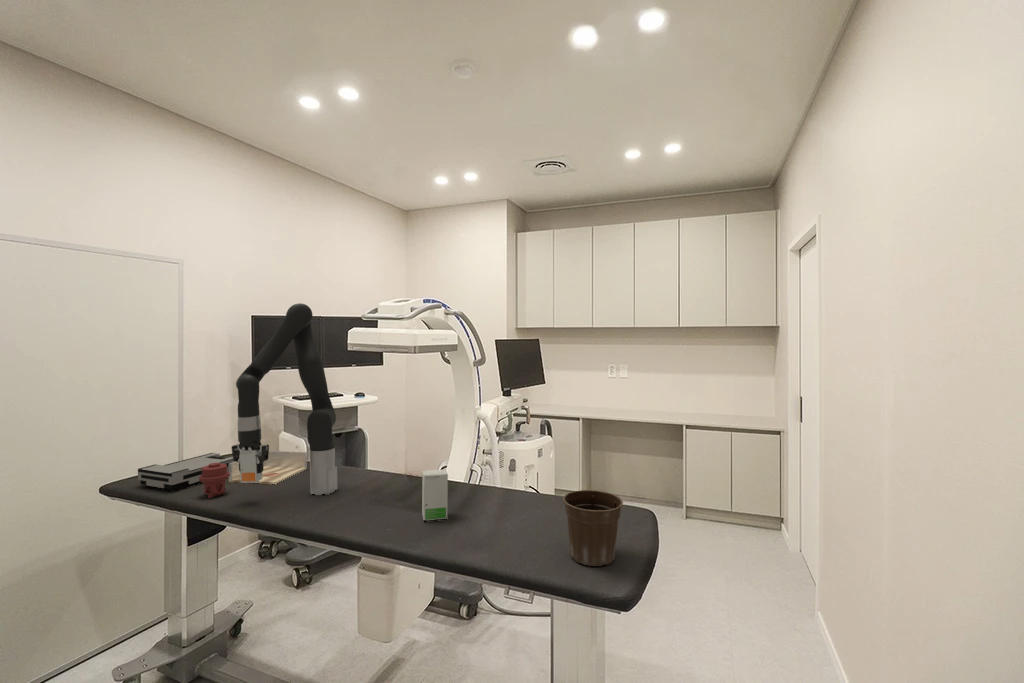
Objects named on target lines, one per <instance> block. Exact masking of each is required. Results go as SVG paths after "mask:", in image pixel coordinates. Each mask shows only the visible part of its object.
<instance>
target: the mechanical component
mask: <svg viewBox="0 0 1024 683" xmlns="http://www.w3.org/2000/svg"><path fill="white" fill-rule="evenodd" d="M229 476H230V473H229V472H228V471H227V465H226V464H220V463H211V464H209V465H208V466H205V467H203V468H202V475H201V476H200V477H199V481H201V482H204V483H203V486H204V487H203V488H204V489H203V494H205V495H207V498H208V499H211V497H212V498H215V497H218V496H222V495H221V494H223V495H225V494H226V480H227V479H229ZM217 495H218V496H217ZM214 496H215V497H214Z"/></svg>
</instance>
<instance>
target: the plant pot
mask: <svg viewBox="0 0 1024 683" xmlns="http://www.w3.org/2000/svg"><path fill="white" fill-rule="evenodd" d="M562 500H563V502H564V504H565V505H564V506H565V513H566V515H567V516H566V517H567V528H568V540H569V554H570V558H571V559H573V560H574V562H576V563H577V562H578V563H577V564H579V563H581V564H580V565H582V564H585V565H590V566H601V567H602V566H603V565H605V566H608V565H607V564H609V565H611V564H612V563H613V562H614V561H613V560H615V556H616V545H617V536H618V535H617V534H618V525H619V519H620V518H621V511H622V507H623V504H624V501H623V499H622V498H621V497H620V496H618V495H615V494H613V493H610V492H607V491H602V490H595V489H579V490H575V491H571V492H568V493H566V494H565V495H564V496H563V498H562ZM612 561H613V562H612ZM611 562H612V563H611ZM610 563H611V564H610ZM585 565H584V566H585ZM590 566H589V567H590Z"/></svg>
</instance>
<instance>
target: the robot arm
mask: <svg viewBox="0 0 1024 683" xmlns="http://www.w3.org/2000/svg"><path fill="white" fill-rule="evenodd" d="M312 320H313V311H312V309H311V307H310V306H308V305H307V304H305V303H302V302H301V303H294V304H292V305H291V306H290V307H289V308H288V309H287V311H286V314H285V317H284V319H283V321H282V322H281V324H280V326H279V327H278V329H277V330H276V331H275V333H274V334H273V335H272V336H271V338H270V339H268V341H267V342H266V343H265V344H264V345H263V346H262V348H261V349H260V351H259V352H258V353H257V355H255V357H254V358H253V360H252V361H251V363H250V365H248V366H247V368H246V367H245V370H244V371H243V372H241V374H240V375H239V377H238V378H237V380H236V382H235V387H236V389H237V398H238V403H237V441H238V442H239V444H233V445H231V453H232V457H233V461H234V462H235V461H236V462H238V463H239V471H240V451H241V450H242V451H245V450H249V451H253V450H256V451H258V449H259V450H260V448H261V451H260V454H258V455H255V454H254V457H256V462H257V473H262V472H263V470H264V468H263V462H264V461H266V460H268V456H269V451H270V444H267V443H266V444H262V442H261V440H262V422H261V414H260V401H259V399H260V382H261V381H262V379H263V378H264V377H265V376H266V375H267V374H268V373H270V371H271V370H272V369H273V367H274V366H275V365H276V364H277V362H278V361H279V359H280V358H281V356H283V354H284V352H285V351H286V349H287V348H288V346H289V345H290V343H292V341H293V343H294V345H293V346H294V353H295V359H296V366H297V367H296V368H297V370H298V373H299V374H298V375H299V379H300V382H301V383H302V385H303V387H304V389H305V391H306V392H307V395H308V396H309V399H310V402H311V409H312V412H311V413H309V415H308V416H307V420H306V430H307V432H306V433H307V443H308V445H309V484H310V485H309V486H310V487H309V488H310V489H309V490H310V491H309V492H310V495H312V494H315V495H314V496H323V495H322V494H325V495H331V494H332V493H334V492H336V491H337V490H338V466H337V465H336V460H335V459H336V456H335V454H336V449H335V446H336V445H335V443H336V442H335V440H334V439H333V426H334V425H335V423H336V421H337V416H336V412H335V411H336V410H335V409H334V406H333V402H332V400H331V398H330V393H329V390H328V382H327V378H326V372H325V368H324V364H323V360H322V356H321V354H320V351H319V349H318V348H319V347H318V346H317V344H316V342H315V339H314V336H313V331H312V330H313V329H312V322H311V321H312ZM258 457H259V458H258ZM240 473H241V472H240ZM335 490H336V491H335ZM330 493H331V494H330Z"/></svg>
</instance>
